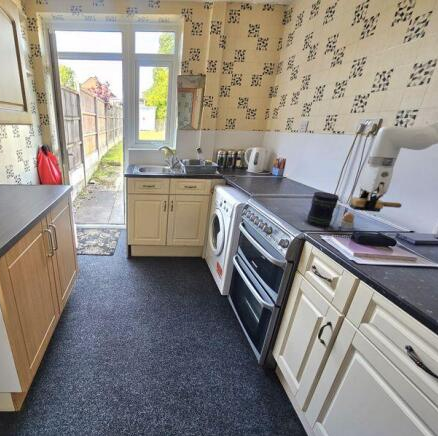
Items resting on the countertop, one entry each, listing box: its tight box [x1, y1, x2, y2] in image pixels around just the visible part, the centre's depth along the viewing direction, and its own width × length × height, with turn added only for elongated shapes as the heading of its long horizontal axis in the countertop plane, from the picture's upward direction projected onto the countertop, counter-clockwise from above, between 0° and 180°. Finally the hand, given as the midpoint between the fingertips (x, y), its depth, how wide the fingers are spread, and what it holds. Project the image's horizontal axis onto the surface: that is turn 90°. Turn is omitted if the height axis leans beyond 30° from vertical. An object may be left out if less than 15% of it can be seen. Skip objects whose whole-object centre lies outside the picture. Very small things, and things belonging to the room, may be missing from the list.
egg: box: [337, 212, 355, 230], centre depth 118 cm, size 6×6×7 cm
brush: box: [349, 196, 403, 213], centre depth 96 cm, size 16×5×4 cm, turn 73°
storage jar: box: [306, 191, 340, 229], centre depth 119 cm, size 10×10×15 cm
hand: (364, 207), depth 97 cm, fingers closed on brush, 4 cm apart
